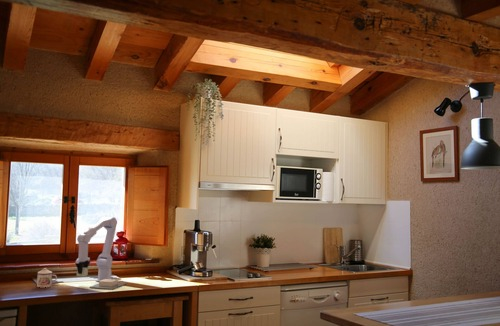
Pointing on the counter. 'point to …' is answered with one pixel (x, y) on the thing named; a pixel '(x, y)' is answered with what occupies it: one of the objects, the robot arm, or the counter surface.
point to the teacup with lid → (45, 278)
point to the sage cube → (83, 272)
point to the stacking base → (108, 284)
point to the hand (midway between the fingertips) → (82, 273)
